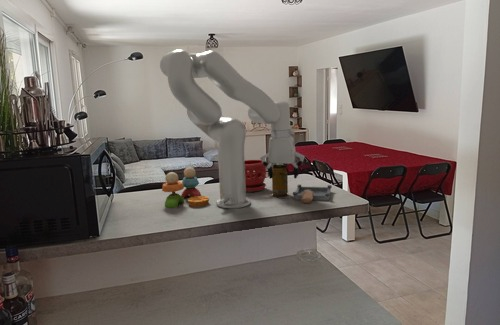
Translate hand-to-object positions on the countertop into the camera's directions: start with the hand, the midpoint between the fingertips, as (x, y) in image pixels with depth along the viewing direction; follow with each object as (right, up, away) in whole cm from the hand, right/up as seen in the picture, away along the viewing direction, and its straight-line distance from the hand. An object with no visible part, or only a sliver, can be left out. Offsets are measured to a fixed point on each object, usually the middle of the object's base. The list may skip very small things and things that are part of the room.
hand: (283, 177), depth 150 cm
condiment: (-1, -7, +1) cm, 7 cm away
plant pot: (-13, -6, +12) cm, 18 cm away
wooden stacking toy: (-36, -9, -2) cm, 37 cm away
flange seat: (+11, -7, -4) cm, 13 cm away
